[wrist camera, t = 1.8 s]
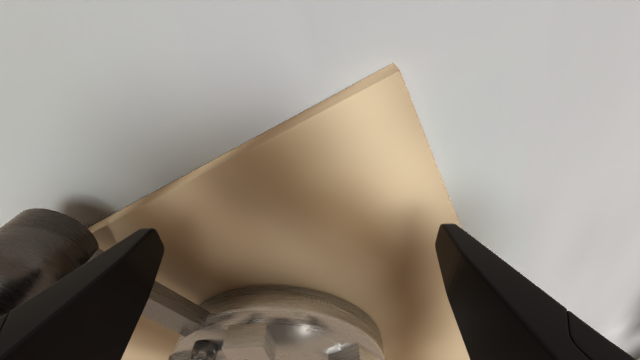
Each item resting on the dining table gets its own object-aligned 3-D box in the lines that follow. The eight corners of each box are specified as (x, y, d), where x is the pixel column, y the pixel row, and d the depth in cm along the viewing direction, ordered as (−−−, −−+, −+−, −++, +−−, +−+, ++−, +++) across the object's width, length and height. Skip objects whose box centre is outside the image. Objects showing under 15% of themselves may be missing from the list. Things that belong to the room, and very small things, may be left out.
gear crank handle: (418, 355, 18) (442, 449, 15) (280, 400, 23) (271, 480, 19) (114, 111, 10) (-19, 190, 6) (-15, 261, 14) (-136, 360, 10)
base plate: (200, 428, 30) (193, 454, 28) (-61, 307, 18) (-100, 340, 17) (513, 367, 21) (529, 399, 19) (393, 62, 10) (407, 79, 8)
